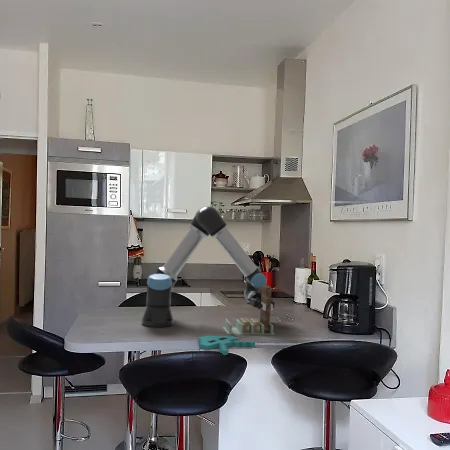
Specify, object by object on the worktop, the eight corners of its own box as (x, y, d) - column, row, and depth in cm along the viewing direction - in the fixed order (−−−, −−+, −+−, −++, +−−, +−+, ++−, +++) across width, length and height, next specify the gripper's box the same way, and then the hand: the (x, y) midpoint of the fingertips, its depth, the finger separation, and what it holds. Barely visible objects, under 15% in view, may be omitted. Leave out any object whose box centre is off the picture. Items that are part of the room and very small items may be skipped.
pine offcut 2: (253, 332, 211) (253, 321, 211) (249, 328, 219) (250, 318, 219) (259, 332, 212) (260, 322, 212) (255, 328, 220) (256, 318, 220)
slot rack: (227, 336, 207) (227, 324, 207) (222, 329, 220) (223, 318, 220) (274, 336, 210) (275, 325, 210) (267, 329, 223) (268, 319, 223)
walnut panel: (263, 331, 212) (266, 287, 212) (259, 327, 220) (262, 285, 220) (268, 331, 212) (271, 287, 212) (264, 327, 220) (267, 285, 220)
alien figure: (255, 347, 192) (218, 337, 205) (255, 342, 192) (218, 332, 205) (224, 356, 177) (186, 345, 189) (224, 350, 177) (187, 340, 189)
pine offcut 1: (242, 332, 211) (243, 321, 211) (239, 328, 218) (240, 318, 218) (249, 332, 211) (249, 321, 211) (245, 328, 219) (246, 318, 219)
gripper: (271, 306, 235) (284, 316, 212) (241, 306, 233) (251, 315, 209) (272, 292, 235) (285, 300, 212) (242, 291, 233) (252, 299, 209)
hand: (268, 307), depth 211 cm, fingers closed on walnut panel, 2 cm apart
